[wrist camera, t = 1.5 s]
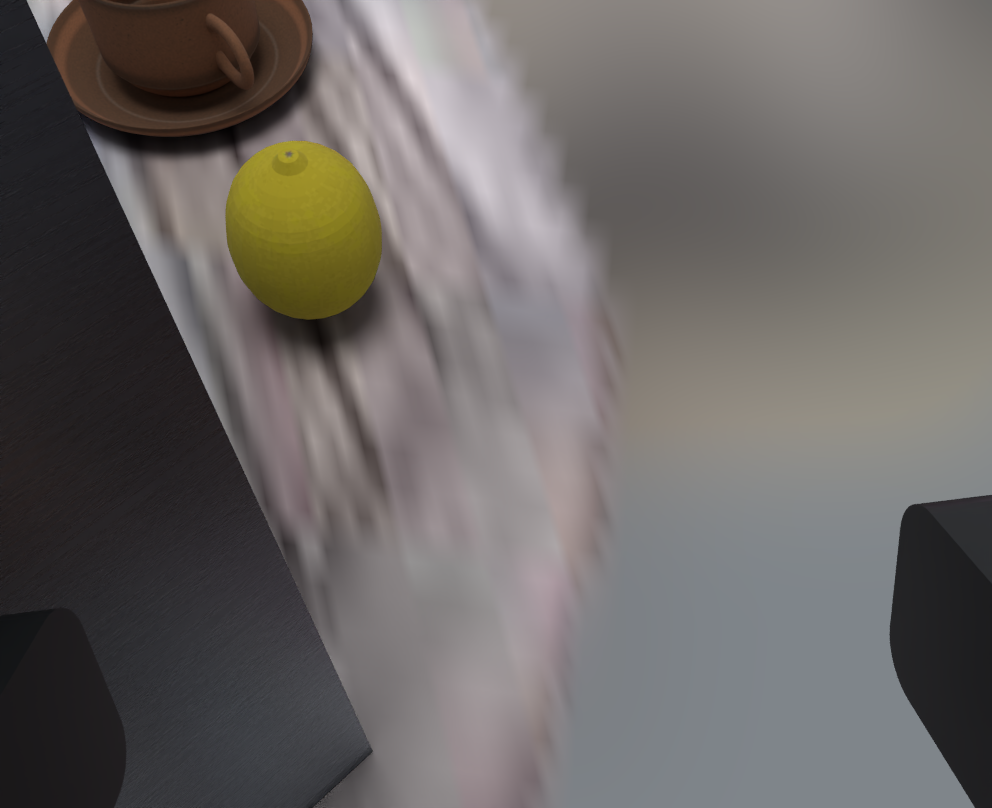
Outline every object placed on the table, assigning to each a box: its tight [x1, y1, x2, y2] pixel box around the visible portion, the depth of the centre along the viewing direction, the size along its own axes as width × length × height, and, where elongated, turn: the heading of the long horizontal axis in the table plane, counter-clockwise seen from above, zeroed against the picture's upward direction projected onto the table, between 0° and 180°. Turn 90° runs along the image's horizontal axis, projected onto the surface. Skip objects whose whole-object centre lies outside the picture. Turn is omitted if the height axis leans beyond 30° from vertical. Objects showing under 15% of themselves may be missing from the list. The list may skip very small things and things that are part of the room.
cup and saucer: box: [47, 0, 313, 137], centre depth 41 cm, size 12×12×6 cm
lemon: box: [226, 141, 382, 320], centre depth 33 cm, size 6×6×8 cm
